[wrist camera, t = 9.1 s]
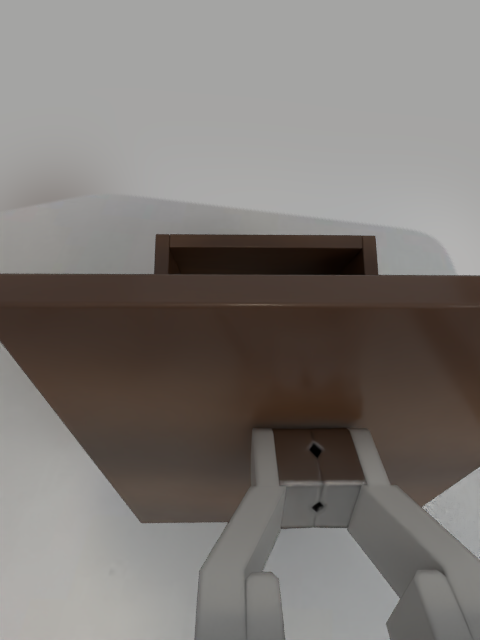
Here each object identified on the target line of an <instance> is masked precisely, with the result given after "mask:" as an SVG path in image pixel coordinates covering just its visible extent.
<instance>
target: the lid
mask: <svg viewBox="0 0 480 640" xmlns="http://www.w3.org/2000/svg"><path fill="white" fill-rule="evenodd" d="M0 342H1V343H2V344H3V345H4V347H5V348H6V349H7V351H8V352H9V353H10V355H11V356H12V357H13V358H14V360H15V361H16V362H17V364H18V365H19V366H20V367H21V369H22V370H23V371H24V373H25V374H26V375H27V376H28V378H29V379H30V380H31V382H32V383H33V384H34V385H35V387H36V388H37V389H38V391H39V392H40V393H41V395H42V396H43V397H44V398H45V400H46V401H47V402H48V404H49V405H50V406H51V407H52V409H53V410H54V411H55V413H56V414H57V415H58V416H59V418H60V419H61V420H62V422H63V423H64V424H65V425H66V427H67V428H68V429H69V431H70V432H71V433H72V435H73V436H74V437H75V438H76V440H77V441H78V442H79V444H80V445H81V446H82V447H83V449H84V450H85V451H86V453H87V454H88V455H89V456H90V458H91V459H92V460H93V462H94V463H95V464H96V465H97V467H98V468H99V469H100V471H101V472H102V473H103V474H104V476H105V477H106V478H107V480H108V481H109V482H110V484H111V485H112V486H113V487H114V489H115V490H116V491H117V493H118V494H119V495H120V496H121V498H122V499H123V500H124V502H125V503H126V504H127V505H128V507H129V508H130V509H131V511H132V512H133V513H134V514H135V516H136V517H137V518H138V520H139V521H140V522H141V523H197V522H229V521H230V519H231V517H232V516H233V514H234V512H235V511H236V509H237V508H238V506H239V504H240V503H241V501H242V499H243V498H244V496H245V494H246V493H247V491H248V489H249V488H250V486H251V443H252V429H253V428H280V429H309V428H367V429H368V430H369V431H370V433H371V436H372V438H373V441H374V443H375V446H376V449H377V451H378V454H379V456H380V459H381V461H382V464H383V467H384V469H385V472H386V474H387V477H388V479H389V482H390V485H397V486H398V487H399V488H400V489H402V490H403V491H404V492H405V493H406V494H407V495H408V496H409V497H410V498H412V499H413V500H414V501H415V502H416V503H417V504H418V505H419V506H420V507H422V506H424V505H425V504H426V503H428V502H429V501H431V500H432V499H434V498H435V497H437V496H438V495H440V494H441V493H442V492H444V491H445V490H447V489H448V488H450V487H451V486H453V485H454V484H455V483H457V482H458V481H460V480H461V479H463V478H464V477H466V476H467V475H468V474H470V473H471V472H473V471H474V470H476V469H477V468H479V467H480V276H470V275H469V276H467V275H464V276H463V275H462V276H461V275H223V274H0Z"/></svg>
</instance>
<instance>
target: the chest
mask: <svg viewBox="0 0 480 640" xmlns="http://www.w3.org/2000/svg"><path fill="white" fill-rule="evenodd" d="M154 274H223V275H378V264H377V251H376V238H375V236H352V235H197V234H170V235H169V234H157V235H156V242H155V266H154Z"/></svg>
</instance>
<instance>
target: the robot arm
mask: <svg viewBox="0 0 480 640" xmlns="http://www.w3.org/2000/svg"><path fill="white" fill-rule="evenodd" d="M312 527H317V528H348V529H347V530H348V531H349V533H350V534H351V535H352V537H353V538H354V539H355V541H356V542H357V543H358V544H359V546H360V547H361V548H362V550H363V551H364V552H365V554H366V555H367V556H368V557H369V559H370V560H371V561H372V563H373V564H374V565H375V566H376V568H377V569H378V570H379V572H380V573H381V574H382V576H383V577H384V578H385V579H386V581H387V582H388V583H389V585H390V586H391V587H392V589H393V590H394V591H395V592H396V594H397V595H398V596H399V598H400V600H399V602H398V604H397V605H396V607H395V609H394V610H393V612H392V614H391V616H390V617H389V619H388V621H387V622H386V625H387V629H388V633H389V636H390V640H480V560H479V559H478V558H477V557H476V556H475V555H473V554H472V553H471V552H470V551H469V550H468V549H467V548H466V547H465V546H464V545H462V544H461V543H460V542H459V541H458V540H457V539H456V538H455V537H454V536H452V535H451V534H450V533H449V532H448V531H447V530H446V529H445V528H444V527H443V526H441V525H440V524H439V523H438V522H437V521H436V520H435V519H434V518H433V517H431V516H430V515H429V514H428V513H427V512H426V511H425V510H424V509H423V508H421V507H420V506H419V505H418V504H417V503H416V502H415V501H414V500H413V499H412V498H410V497H409V496H408V495H407V494H406V493H405V492H404V491H403V490H402V489H400V488H399V487H398V486H397V485H390V482H389V479H388V477H387V474H386V472H385V469H384V467H383V464H382V461H381V459H380V456H379V454H378V451H377V449H376V446H375V443H374V441H373V438H372V436H371V433H370V431H369V430H368V429H367V428H309V429H280V428H253V429H252V443H251V486H250V488H249V489H248V491H247V493H246V494H245V496H244V498H243V499H242V501H241V503H240V504H239V506H238V508H237V509H236V511H235V512H234V514H233V516H232V517H231V519H230V521H229V522H228V524H227V526H226V527H225V529H224V531H223V532H222V534H221V536H220V537H219V539H218V541H217V542H216V544H215V546H214V547H213V549H212V551H211V552H210V554H209V556H208V557H207V559H206V561H205V562H204V564H203V565H202V567H201V569H200V570H199V581H198V596H197V611H196V625H195V640H285V634H284V624H283V614H282V604H281V595H280V585H279V579H278V578H277V577H276V576H275V575H274V574H273V573H272V572H262V571H263V569H264V567H265V564H266V562H267V560H268V558H269V555H270V553H271V551H272V549H273V546H274V544H275V542H276V540H277V537H278V535H279V533H280V529H287V528H312Z"/></svg>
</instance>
